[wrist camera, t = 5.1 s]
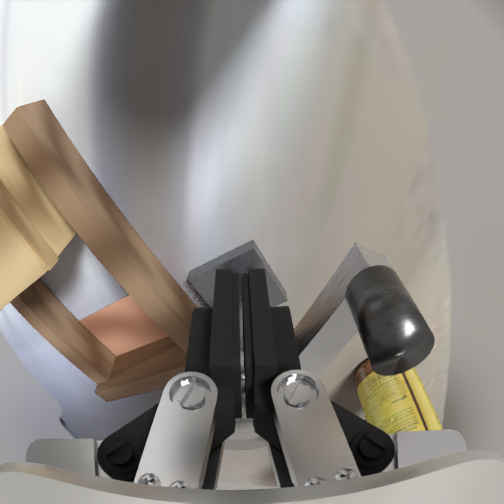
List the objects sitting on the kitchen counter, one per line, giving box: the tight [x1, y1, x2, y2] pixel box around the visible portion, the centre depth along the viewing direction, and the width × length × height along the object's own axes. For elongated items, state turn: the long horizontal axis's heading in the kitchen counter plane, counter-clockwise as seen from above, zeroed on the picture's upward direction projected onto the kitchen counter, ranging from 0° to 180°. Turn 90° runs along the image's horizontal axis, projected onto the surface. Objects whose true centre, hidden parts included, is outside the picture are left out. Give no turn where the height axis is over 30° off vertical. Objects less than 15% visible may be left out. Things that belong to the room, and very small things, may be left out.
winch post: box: [188, 240, 287, 395], centre depth 18 cm, size 5×5×10 cm
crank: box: [224, 243, 434, 450], centre depth 10 cm, size 12×3×4 cm, turn 156°
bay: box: [3, 100, 198, 402], centre depth 20 cm, size 22×12×4 cm, turn 29°
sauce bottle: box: [355, 359, 443, 434], centre depth 21 cm, size 7×6×20 cm
